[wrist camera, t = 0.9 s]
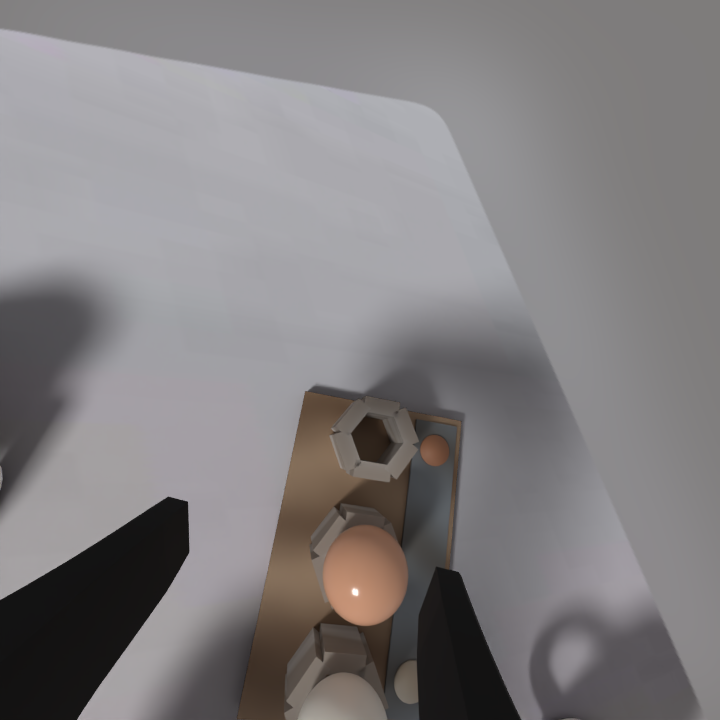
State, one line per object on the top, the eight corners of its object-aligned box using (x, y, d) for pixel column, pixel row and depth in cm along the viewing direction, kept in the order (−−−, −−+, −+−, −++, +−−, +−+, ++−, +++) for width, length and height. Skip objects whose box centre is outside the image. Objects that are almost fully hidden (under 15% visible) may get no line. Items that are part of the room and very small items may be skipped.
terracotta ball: (388, 605, 20) (415, 650, 15) (312, 597, 19) (317, 642, 15) (398, 522, 21) (426, 542, 17) (327, 512, 20) (336, 530, 16)
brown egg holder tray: (429, 717, 22) (458, 775, 18) (239, 706, 20) (226, 767, 16) (455, 421, 27) (482, 418, 23) (305, 393, 25) (307, 384, 21)
